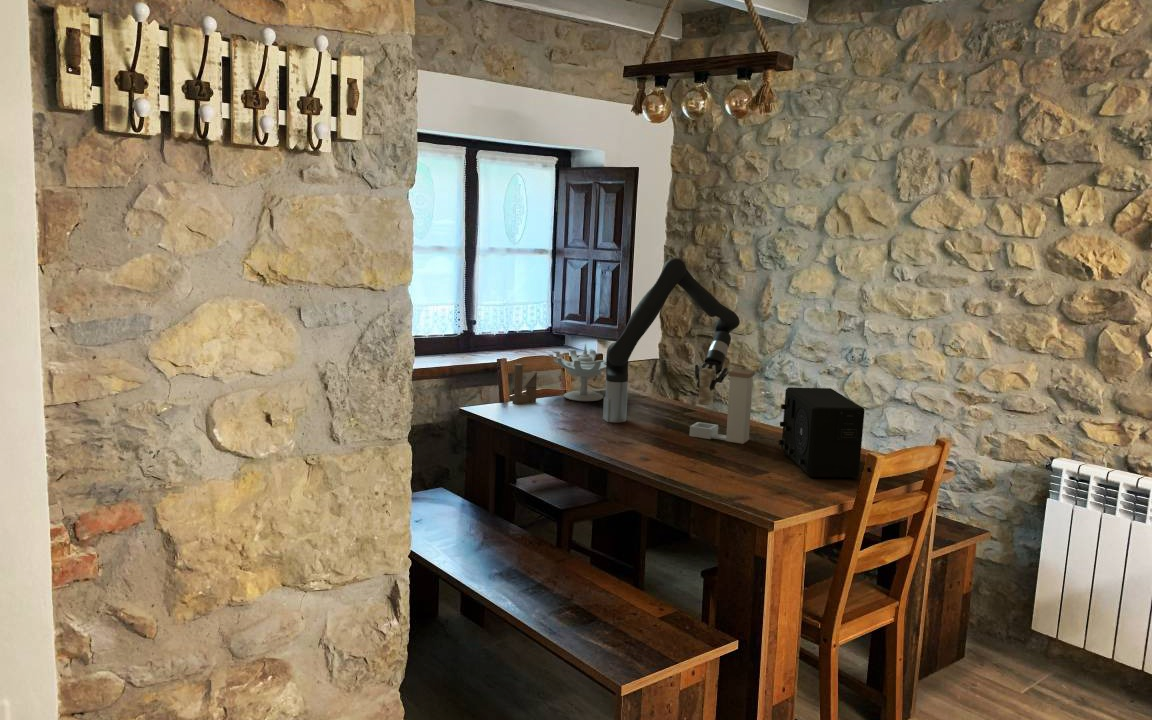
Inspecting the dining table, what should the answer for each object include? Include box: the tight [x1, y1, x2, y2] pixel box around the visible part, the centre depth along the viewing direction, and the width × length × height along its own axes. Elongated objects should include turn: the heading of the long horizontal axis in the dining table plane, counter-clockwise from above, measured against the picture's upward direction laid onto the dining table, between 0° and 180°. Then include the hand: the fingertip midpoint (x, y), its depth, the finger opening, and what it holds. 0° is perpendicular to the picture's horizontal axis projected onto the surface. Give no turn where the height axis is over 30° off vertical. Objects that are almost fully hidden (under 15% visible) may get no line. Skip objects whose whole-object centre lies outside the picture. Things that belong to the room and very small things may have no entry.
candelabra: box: [547, 341, 607, 402], centre depth 417 cm, size 34×35×27 cm
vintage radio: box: [777, 386, 865, 479], centre depth 317 cm, size 38×20×25 cm, turn 3°
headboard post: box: [689, 368, 756, 445], centre depth 351 cm, size 22×9×28 cm, turn 62°
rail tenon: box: [698, 368, 715, 407], centre depth 353 cm, size 4×4×14 cm
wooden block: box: [512, 363, 538, 405], centre depth 404 cm, size 4×11×18 cm, turn 126°
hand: (704, 388), depth 352 cm, fingers closed on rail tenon, 4 cm apart
